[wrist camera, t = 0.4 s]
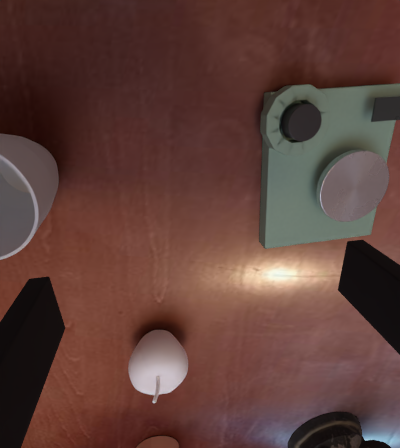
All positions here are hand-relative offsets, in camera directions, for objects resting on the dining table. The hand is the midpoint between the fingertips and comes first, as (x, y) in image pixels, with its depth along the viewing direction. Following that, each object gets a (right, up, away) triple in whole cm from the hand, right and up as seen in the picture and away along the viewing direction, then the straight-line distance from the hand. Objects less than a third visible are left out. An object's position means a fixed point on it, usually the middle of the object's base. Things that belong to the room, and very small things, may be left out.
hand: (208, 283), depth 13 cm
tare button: (+8, +12, +13) cm, 19 cm away
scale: (+13, +9, +18) cm, 24 cm away
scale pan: (+15, +9, +15) cm, 23 cm away
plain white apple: (-6, -13, +25) cm, 29 cm away
